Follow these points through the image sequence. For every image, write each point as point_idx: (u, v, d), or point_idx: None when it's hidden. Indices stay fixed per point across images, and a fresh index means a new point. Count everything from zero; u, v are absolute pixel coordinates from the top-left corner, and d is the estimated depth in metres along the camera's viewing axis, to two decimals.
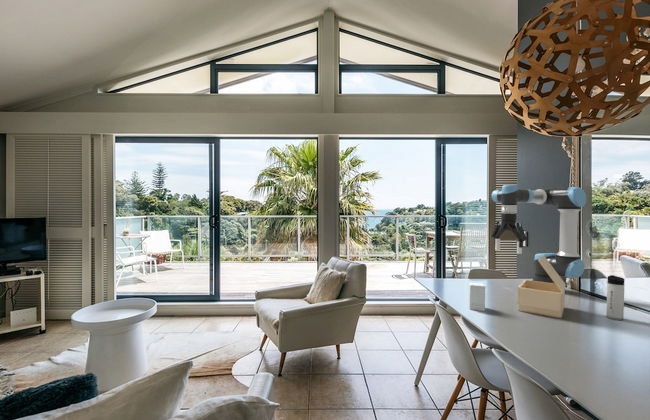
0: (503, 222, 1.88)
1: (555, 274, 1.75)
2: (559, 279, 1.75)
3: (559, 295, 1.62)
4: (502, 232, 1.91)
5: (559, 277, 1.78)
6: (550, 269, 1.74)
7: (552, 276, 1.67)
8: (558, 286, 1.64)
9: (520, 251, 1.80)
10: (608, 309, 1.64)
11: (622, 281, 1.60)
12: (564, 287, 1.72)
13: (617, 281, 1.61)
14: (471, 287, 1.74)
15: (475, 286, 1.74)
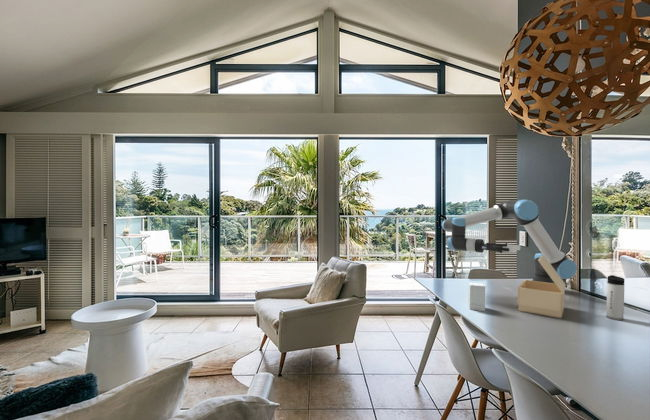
0: None
1: (555, 274, 1.75)
2: (559, 279, 1.75)
3: (559, 295, 1.62)
4: (498, 245, 1.92)
5: (559, 277, 1.78)
6: (550, 269, 1.74)
7: (552, 276, 1.67)
8: (558, 286, 1.64)
9: (513, 249, 1.78)
10: (608, 309, 1.64)
11: (622, 281, 1.60)
12: (564, 287, 1.72)
13: (617, 281, 1.61)
14: (471, 287, 1.74)
15: (475, 286, 1.74)
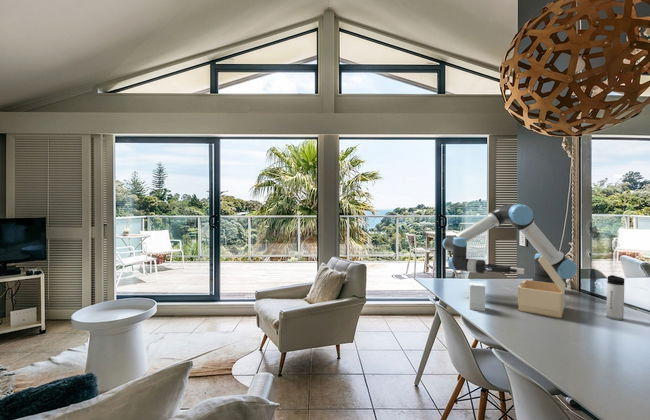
0: None
1: (555, 274, 1.75)
2: (559, 279, 1.75)
3: (559, 295, 1.62)
4: None
5: (559, 277, 1.78)
6: (550, 269, 1.74)
7: (552, 276, 1.67)
8: (558, 286, 1.64)
9: (521, 270, 1.81)
10: (608, 309, 1.64)
11: (622, 281, 1.60)
12: (564, 287, 1.72)
13: (617, 281, 1.61)
14: (471, 287, 1.74)
15: (475, 286, 1.74)
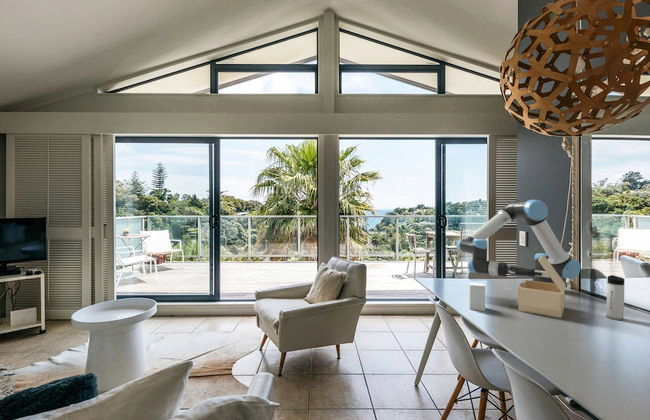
0: None
1: (555, 274, 1.75)
2: (559, 279, 1.75)
3: (559, 295, 1.62)
4: None
5: (559, 277, 1.78)
6: (550, 269, 1.74)
7: (552, 276, 1.67)
8: (558, 286, 1.64)
9: (546, 274, 1.73)
10: (608, 309, 1.64)
11: (622, 281, 1.60)
12: (564, 287, 1.72)
13: (617, 281, 1.61)
14: (471, 287, 1.74)
15: (475, 286, 1.74)
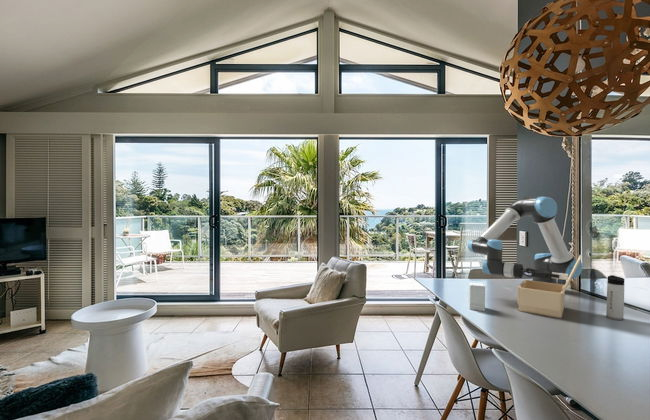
0: None
1: (571, 275, 1.71)
2: None
3: (559, 295, 1.62)
4: (540, 272, 1.76)
5: None
6: None
7: (571, 277, 1.62)
8: (566, 287, 1.62)
9: (564, 276, 1.69)
10: (608, 309, 1.64)
11: (622, 281, 1.60)
12: None
13: (617, 281, 1.61)
14: (471, 287, 1.74)
15: (475, 286, 1.74)
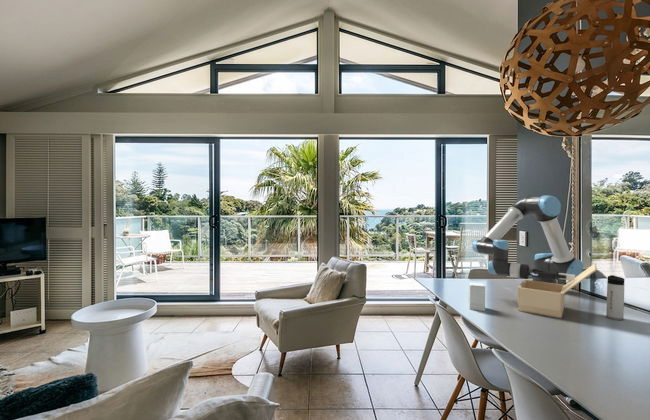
0: None
1: (577, 279, 1.70)
2: (572, 283, 1.72)
3: (559, 295, 1.62)
4: None
5: None
6: (583, 276, 1.66)
7: (578, 282, 1.61)
8: (568, 289, 1.61)
9: (571, 277, 1.67)
10: (608, 309, 1.64)
11: (622, 281, 1.60)
12: (565, 289, 1.71)
13: (617, 281, 1.61)
14: (471, 287, 1.74)
15: (475, 286, 1.74)
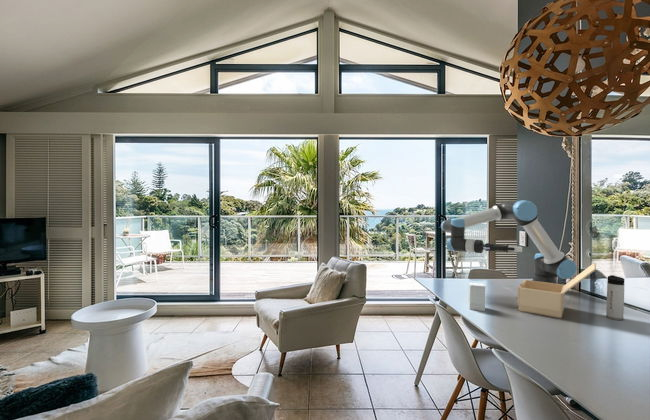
0: None
1: (577, 279, 1.70)
2: (572, 283, 1.72)
3: (559, 295, 1.62)
4: None
5: (573, 281, 1.74)
6: (582, 276, 1.66)
7: None
8: (568, 289, 1.61)
9: (519, 248, 1.82)
10: (608, 309, 1.64)
11: (622, 281, 1.60)
12: (565, 289, 1.71)
13: (617, 281, 1.61)
14: (471, 287, 1.74)
15: (475, 286, 1.74)
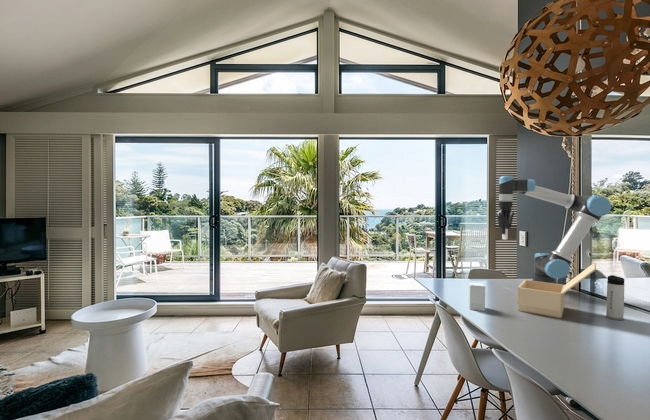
0: None
1: (577, 279, 1.70)
2: (572, 283, 1.72)
3: (559, 295, 1.62)
4: (506, 220, 2.10)
5: (573, 281, 1.74)
6: (582, 276, 1.66)
7: None
8: (568, 289, 1.61)
9: (504, 237, 2.10)
10: (608, 309, 1.64)
11: (622, 281, 1.60)
12: (565, 289, 1.71)
13: (617, 281, 1.61)
14: (471, 287, 1.74)
15: (475, 286, 1.74)
